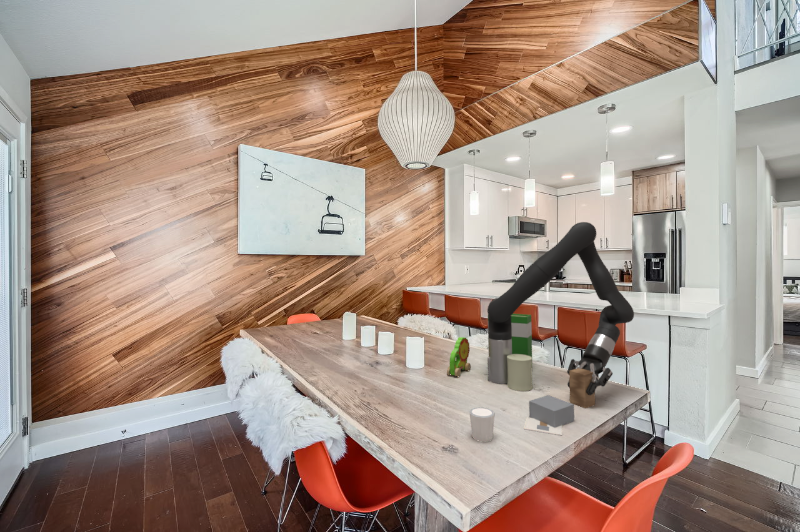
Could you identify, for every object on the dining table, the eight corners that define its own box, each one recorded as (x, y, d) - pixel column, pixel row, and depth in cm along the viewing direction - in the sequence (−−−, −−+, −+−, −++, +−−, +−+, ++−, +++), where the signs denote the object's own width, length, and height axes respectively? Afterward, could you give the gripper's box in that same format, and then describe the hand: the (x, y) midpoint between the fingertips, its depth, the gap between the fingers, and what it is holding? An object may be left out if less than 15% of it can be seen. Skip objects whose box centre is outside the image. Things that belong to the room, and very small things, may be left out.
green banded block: (488, 366, 163) (487, 314, 163) (494, 362, 169) (493, 312, 169) (528, 372, 153) (527, 317, 153) (532, 367, 159) (531, 314, 159)
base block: (529, 416, 109) (529, 400, 109) (548, 410, 114) (548, 394, 114) (554, 428, 102) (554, 411, 101) (574, 420, 106) (573, 404, 106)
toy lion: (457, 378, 147) (456, 342, 146) (446, 376, 150) (445, 340, 150) (473, 368, 159) (472, 335, 159) (462, 367, 163) (461, 334, 162)
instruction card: (523, 429, 102) (523, 428, 102) (526, 417, 109) (526, 417, 109) (561, 435, 97) (561, 434, 97) (562, 423, 105) (562, 422, 105)
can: (514, 381, 142) (514, 351, 142) (536, 386, 135) (536, 355, 135) (502, 387, 135) (502, 356, 135) (525, 393, 129) (525, 360, 129)
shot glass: (466, 431, 101) (466, 407, 101) (490, 430, 101) (489, 406, 101) (473, 444, 94) (473, 417, 94) (498, 442, 95) (498, 416, 95)
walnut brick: (570, 403, 119) (569, 370, 119) (579, 399, 122) (579, 368, 122) (585, 408, 115) (584, 374, 114) (595, 404, 117) (594, 372, 117)
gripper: (575, 339, 128) (554, 378, 122) (615, 347, 116) (595, 391, 110) (584, 352, 131) (564, 390, 125) (625, 361, 118) (605, 404, 112)
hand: (579, 390), depth 117 cm, fingers open, 6 cm apart
